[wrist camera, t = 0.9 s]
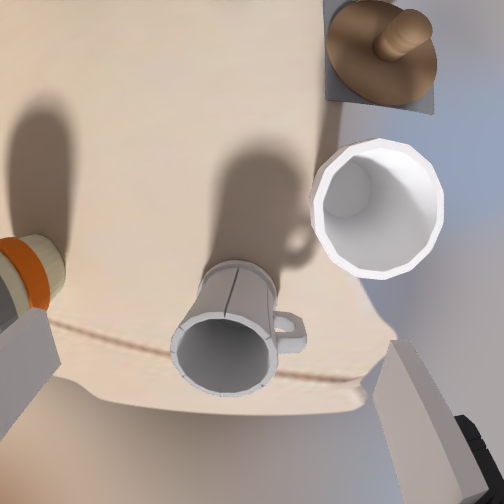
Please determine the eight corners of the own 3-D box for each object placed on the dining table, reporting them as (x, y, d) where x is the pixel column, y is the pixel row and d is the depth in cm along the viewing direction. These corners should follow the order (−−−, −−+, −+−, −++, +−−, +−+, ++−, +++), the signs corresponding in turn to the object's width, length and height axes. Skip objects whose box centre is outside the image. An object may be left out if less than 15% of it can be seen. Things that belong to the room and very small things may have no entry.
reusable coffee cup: (0, 247, 37) (-70, 285, 22) (44, 203, 34) (-42, 234, 20) (42, 318, 40) (-18, 374, 25) (92, 286, 37) (22, 349, 23)
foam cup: (371, 132, 30) (427, 125, 17) (393, 216, 32) (453, 254, 20) (284, 158, 31) (292, 163, 19) (312, 242, 34) (334, 296, 21)
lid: (323, -3, 25) (338, -45, 16) (427, 17, 24) (465, -11, 15) (326, 99, 28) (347, 80, 20) (434, 114, 28) (480, 107, 19)
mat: (322, 0, 25) (323, -3, 25) (424, 19, 25) (427, 17, 24) (325, 100, 29) (326, 98, 28) (430, 114, 28) (434, 114, 28)
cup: (263, 235, 34) (259, 280, 22) (305, 303, 36) (317, 368, 25) (184, 281, 36) (148, 338, 25) (227, 341, 38) (212, 410, 27)
